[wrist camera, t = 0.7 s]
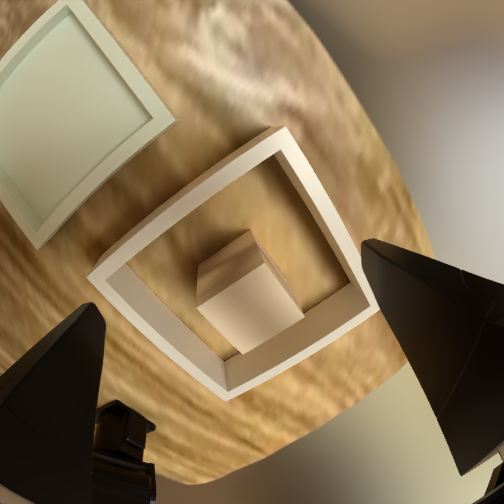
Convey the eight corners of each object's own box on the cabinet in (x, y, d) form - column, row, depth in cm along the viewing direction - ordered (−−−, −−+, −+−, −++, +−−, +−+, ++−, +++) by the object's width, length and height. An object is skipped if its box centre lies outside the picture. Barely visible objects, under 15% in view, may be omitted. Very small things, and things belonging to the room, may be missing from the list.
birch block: (234, 307, 25) (242, 354, 20) (197, 265, 23) (196, 308, 18) (284, 275, 25) (305, 316, 19) (250, 228, 23) (264, 262, 17)
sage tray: (51, 238, 20) (37, 250, 18) (-26, 121, 15) (-43, 123, 12) (179, 121, 19) (175, 120, 16) (84, -1, 13) (72, -12, 11)
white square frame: (222, 371, 28) (225, 401, 24) (103, 253, 22) (86, 277, 18) (363, 283, 26) (383, 306, 22) (271, 126, 20) (285, 126, 16)
